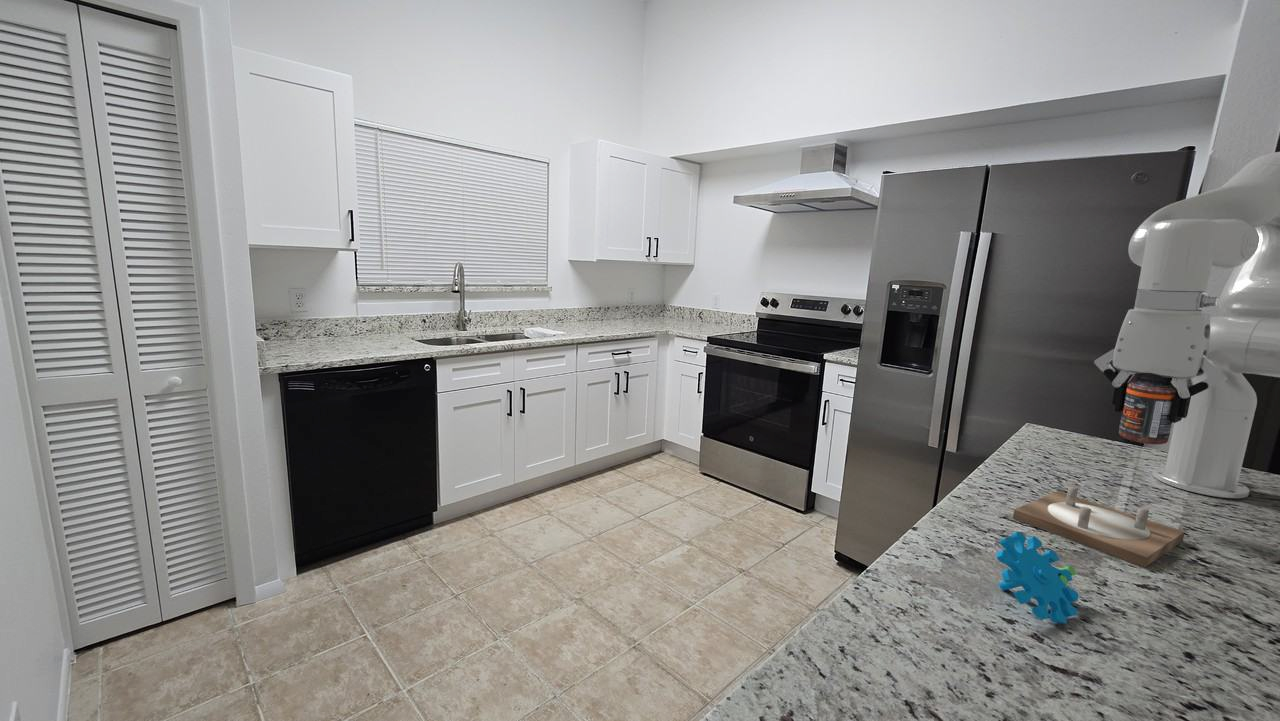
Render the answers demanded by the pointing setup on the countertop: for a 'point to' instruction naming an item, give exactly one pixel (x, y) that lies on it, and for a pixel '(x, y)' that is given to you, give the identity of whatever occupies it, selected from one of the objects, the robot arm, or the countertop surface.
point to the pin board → (1101, 527)
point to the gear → (1037, 578)
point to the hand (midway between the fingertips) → (1147, 414)
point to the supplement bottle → (1148, 409)
